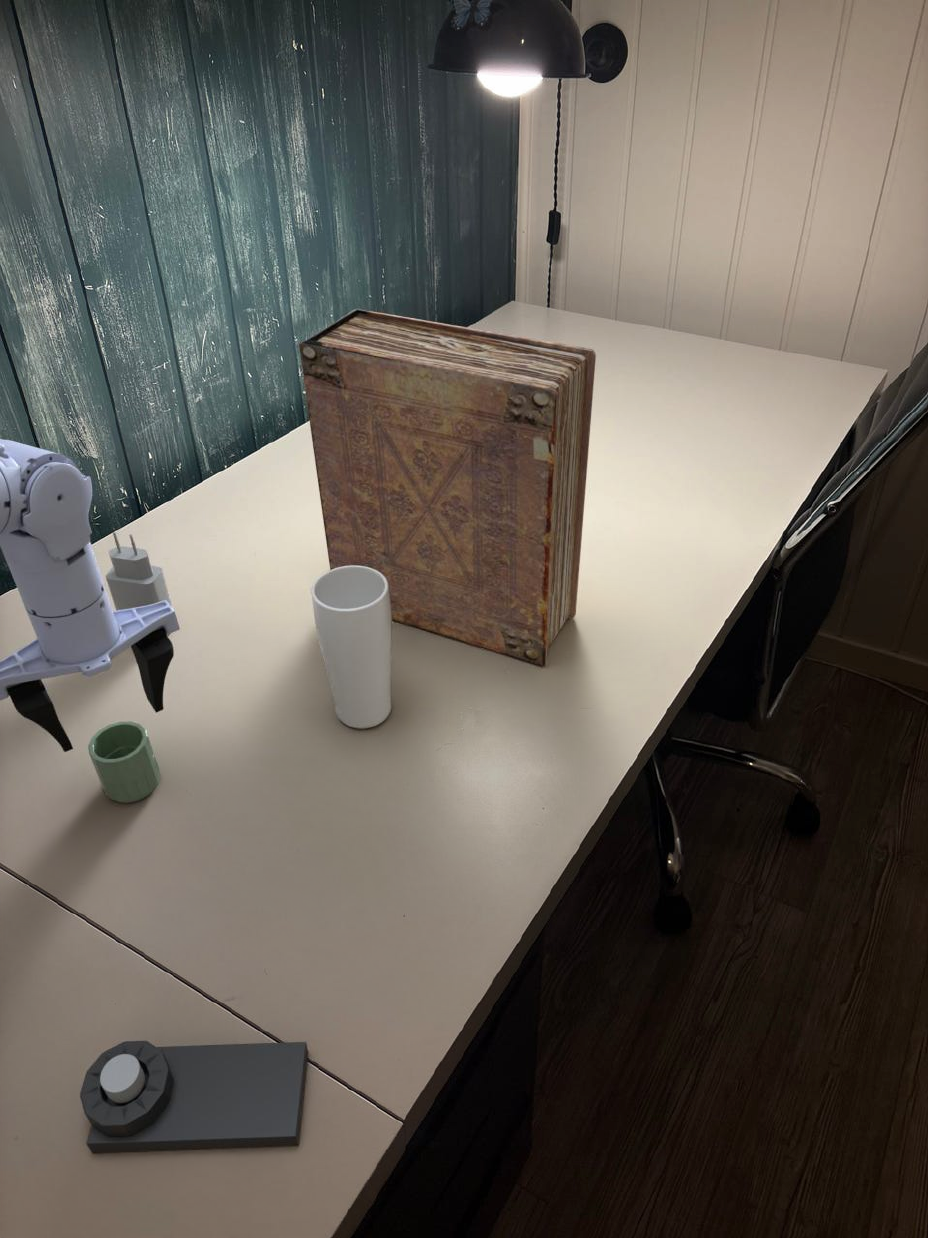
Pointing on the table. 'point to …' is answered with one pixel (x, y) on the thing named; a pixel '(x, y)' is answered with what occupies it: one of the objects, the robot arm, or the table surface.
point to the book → (454, 472)
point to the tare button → (122, 1078)
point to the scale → (200, 1098)
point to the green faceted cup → (124, 761)
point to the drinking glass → (355, 641)
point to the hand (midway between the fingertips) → (111, 723)
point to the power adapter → (135, 578)
